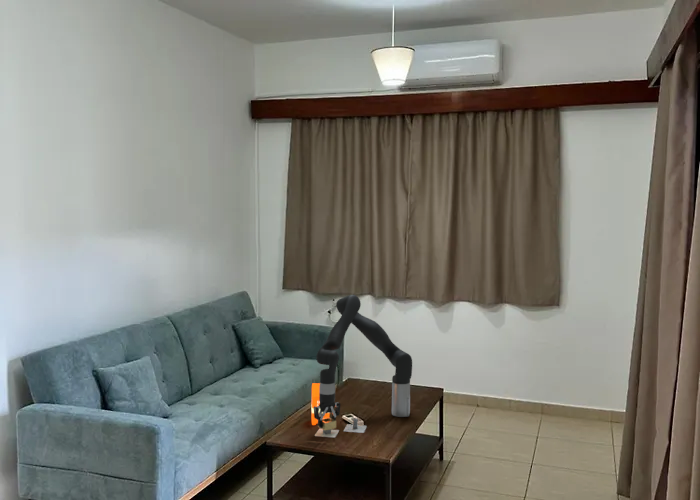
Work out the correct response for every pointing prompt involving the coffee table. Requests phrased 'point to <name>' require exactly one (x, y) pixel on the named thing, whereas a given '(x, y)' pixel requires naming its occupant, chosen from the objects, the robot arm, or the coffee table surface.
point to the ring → (328, 423)
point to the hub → (327, 433)
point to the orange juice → (316, 402)
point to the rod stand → (355, 427)
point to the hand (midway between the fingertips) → (326, 425)
